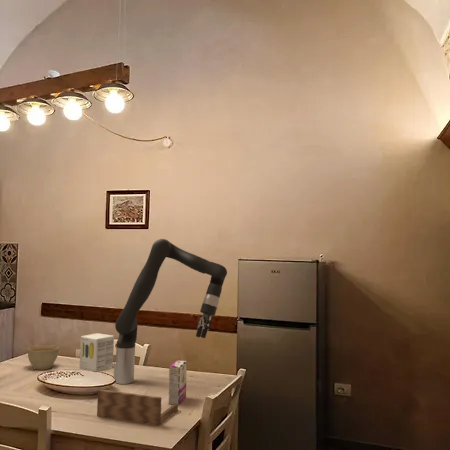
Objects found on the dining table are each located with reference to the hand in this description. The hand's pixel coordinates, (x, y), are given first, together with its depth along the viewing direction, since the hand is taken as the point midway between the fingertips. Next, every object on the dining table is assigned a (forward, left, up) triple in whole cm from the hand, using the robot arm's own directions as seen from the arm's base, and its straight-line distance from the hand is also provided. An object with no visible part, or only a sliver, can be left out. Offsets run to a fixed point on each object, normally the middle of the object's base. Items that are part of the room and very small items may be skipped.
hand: (200, 337), depth 225 cm
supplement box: (-67, +16, -25) cm, 73 cm away
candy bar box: (-3, -19, -25) cm, 32 cm away
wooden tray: (-11, -39, -25) cm, 48 cm away
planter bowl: (-93, +4, -25) cm, 96 cm away
